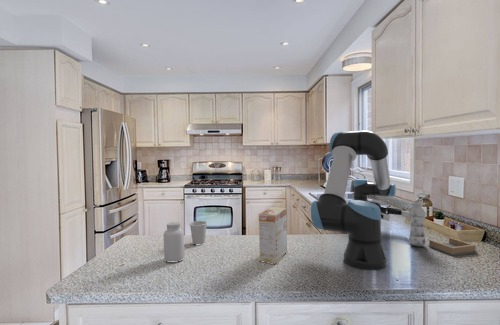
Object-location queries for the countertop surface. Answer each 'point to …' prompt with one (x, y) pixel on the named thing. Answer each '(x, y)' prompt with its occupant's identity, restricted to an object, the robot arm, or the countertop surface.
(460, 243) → the tray
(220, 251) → the countertop surface
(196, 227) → the dixie cup
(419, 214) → the silver metal bottle
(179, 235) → the pill bottle
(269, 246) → the coffeecake box
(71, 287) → the countertop surface
